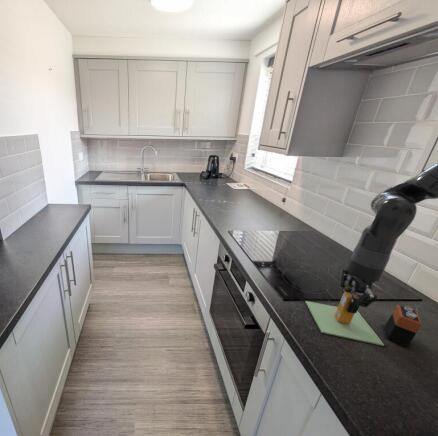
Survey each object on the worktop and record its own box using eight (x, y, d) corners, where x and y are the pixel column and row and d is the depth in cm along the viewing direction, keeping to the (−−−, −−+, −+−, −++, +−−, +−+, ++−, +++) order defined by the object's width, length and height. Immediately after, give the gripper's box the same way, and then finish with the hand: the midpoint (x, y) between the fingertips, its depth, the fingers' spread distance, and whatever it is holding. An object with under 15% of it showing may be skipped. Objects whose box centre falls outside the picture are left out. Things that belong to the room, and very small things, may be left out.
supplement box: (345, 317, 76) (357, 293, 72) (349, 325, 73) (361, 300, 69) (333, 314, 77) (344, 290, 73) (336, 321, 74) (348, 297, 70)
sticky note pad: (356, 311, 79) (357, 310, 79) (383, 346, 67) (384, 344, 67) (305, 301, 83) (305, 300, 83) (321, 332, 71) (321, 331, 70)
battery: (387, 339, 69) (402, 313, 65) (384, 325, 74) (398, 301, 70) (407, 347, 67) (424, 321, 63) (403, 333, 71) (418, 308, 68)
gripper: (401, 277, 59) (375, 327, 66) (368, 251, 72) (349, 295, 78) (367, 272, 61) (344, 321, 67) (340, 247, 74) (324, 291, 80)
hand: (347, 307), depth 73 cm, fingers closed on supplement box, 3 cm apart
